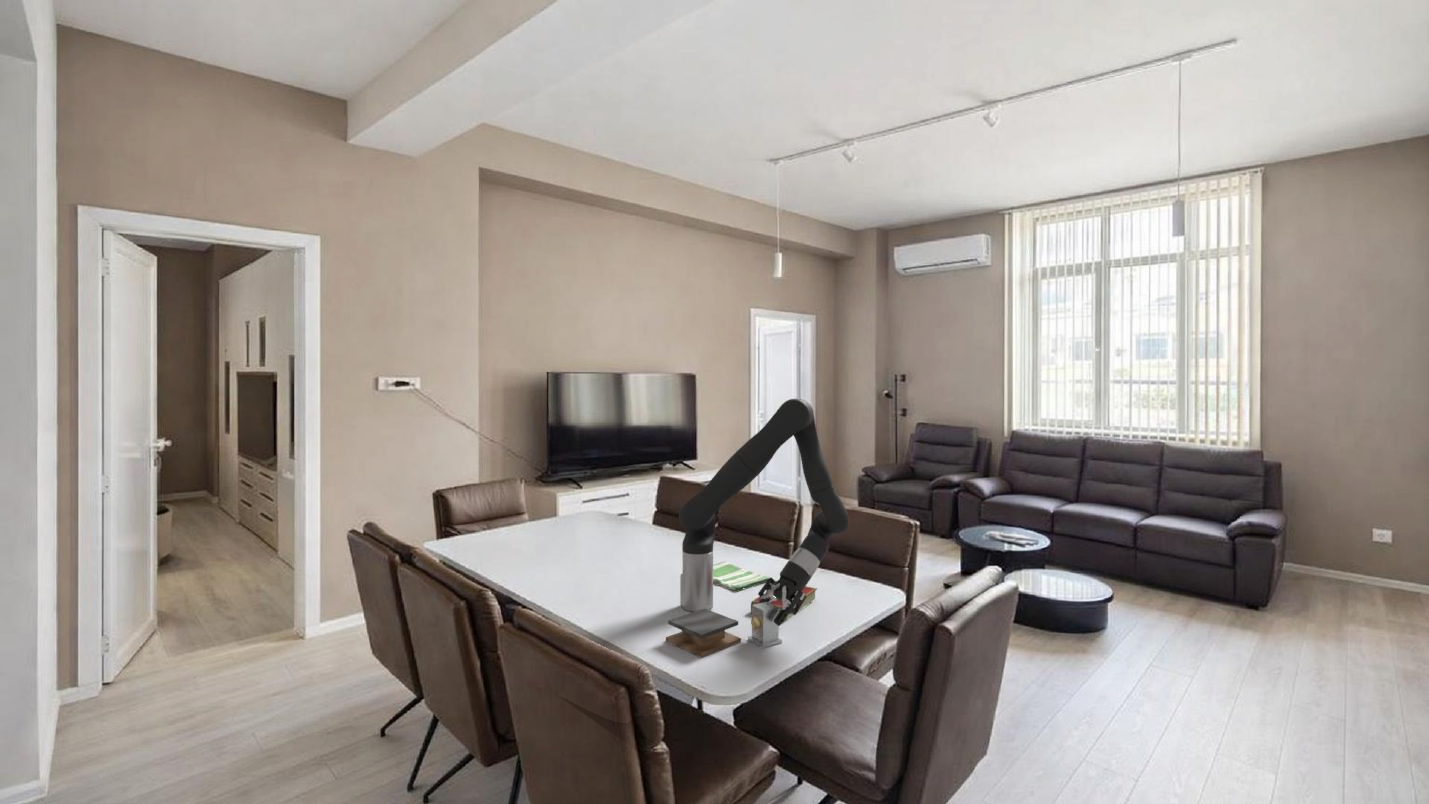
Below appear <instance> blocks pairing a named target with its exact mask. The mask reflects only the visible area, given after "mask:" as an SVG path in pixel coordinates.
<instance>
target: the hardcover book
mask: <svg viewBox="0 0 1429 804" xmlns="http://www.w3.org/2000/svg"><path fill="white" fill-rule="evenodd" d="M817 590H818V587H817V588H816V587H812V586H807V585H806V586H805V588H804V589H803V590H802V592H803V593H804V594H805V595H806V599H805V600H804V602H803V604H802V605H801V607H800V609H799V610H800V611H801V610H803V609H804V608H805V607H807V606H808V605H809V604H808V603H810V602H811V601H812V602H813V600H814V599H815V600H816V591H817ZM772 594H773V595H774V592H773V593H772ZM768 598H770V597H767V599H768ZM760 600H761V597H760V596H758V597H757V598H754V599H753V600H752V601H751V602H750V611H751V614H752V605H755V604H758V603H759V601H760ZM815 600H814V601H815ZM812 602H811V603H812ZM770 603H771V604H773V605H775V606H777V607H779V611H780V610H781V609H782V607H783V602H782V601H779V600H776V601H772V602H770ZM811 603H810V604H811ZM807 604H808V605H807ZM806 605H807V606H806ZM804 606H805V607H804ZM795 607H796V604H795V606H794V608H795ZM803 607H804V608H803ZM802 608H803V609H802ZM782 610H783V609H782ZM799 610H798V611H799ZM800 611H799V612H800ZM793 616H795V615H794V614H790V615H788V616H787V617H786V619H785V620H784V621H787V620H789V619H790V618H792V617H793Z"/></svg>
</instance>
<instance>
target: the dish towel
mask: <svg viewBox="0 0 1429 804" xmlns="http://www.w3.org/2000/svg"><path fill="white" fill-rule="evenodd" d="M769 578H772V577H771V576H766V575H763V574H759V573H755V572H752V571H750V570H747V569H743V568H742V567H740V566H735V565H734V564H731V563H730V562H727V561H726V560H725V561H721V562H718V563H715V564H714V563H713V585H717V586H719V585H720V587H723V588H725V589H727V590H728V589H729V590H731V591H736V592H740V591H744V590H743V588H747V589H751V588H753V587H755V586H754V585H756V586H759V585H762V584H766V582H767V581H768V580H769ZM761 583H762V584H761ZM758 584H759V585H758ZM752 586H753V587H752Z"/></svg>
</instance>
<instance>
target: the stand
mask: <svg viewBox="0 0 1429 804" xmlns="http://www.w3.org/2000/svg"><path fill="white" fill-rule="evenodd" d="M667 621H668V622H667V623H668V625H669V626H671V627H674V628H676V629H678V630H681V631H680V632H677V633H674V634H672V635H668V636H665V641H666V642H667V641H668V642H667V643H669V642H670V644H671V643H672V645H673V644H675V645H677V646H676V647H677V648H680V647H682V648H683V650H684V649H685V651H686V650H687V651H686V652H688V651H689V652H688V653H690V652H692V653H691V654H693V653H694V654H693V655H695V656H697V655H698V656H697V657H699V656H700V657H699V658H704V657H707V656H710V655H712V654H714V653H716V652H720V651H722V650H724V649H727V648H729V647H732V646H735V645H736V644H739V643H741V642H742V638H741V637H739V636H737V635H734V634H732V633H729V632H727V631H726V630H729V629H732V628H734V627H737V626H738V625H739V621H738V620H736V619H733V618H732V617H728V616H726V615H722V614H720V613H718V612H715V611H713V610H711V609H710V610H708V609H705V608H704V609H701V610H698V611H695V612H692V611H691V612H690V613H686V614H684V615H680V616H678V617H674V618H671V619H669V620H667ZM675 645H674V646H675ZM682 648H681V649H682ZM711 653H712V654H711ZM706 655H707V656H706Z"/></svg>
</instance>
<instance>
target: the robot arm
mask: <svg viewBox="0 0 1429 804" xmlns="http://www.w3.org/2000/svg"><path fill="white" fill-rule="evenodd" d="M814 413H815V412H814V409H813V407H812V405H811V403H809V402H808V401H807V400H805V399H801V398H790V399H788V400H786V401H785V402H783V403H782V404H780V406H779V407H778V409H777V410H776V411H775V413H774V414H773V415H772V417H770V418H769V420H768V421H767V422H766V424H765V425H764V426H763V427H762V428H761V429H760V430H759V431H758V432H757V433H755V434H754V435H753V436H752V437H751V438H750V439H749V440H747V441H746V442H745V443H744V444H743V445H742V446H741V447H740V448H739V449H737V450H736V452H735V453H733V455H731V456H730V457H729V459H727V461H726V462H725V463H724V464H723V465H722V466H721V467H720V468H719V470H718V471H717V472H716V474H715V475H714V476H713V477H712V479H710V480H709V482H708V483H707V484H706V485H705V486H704V487H703V488H702V489H700V490H699V492H697V493H696V494H695V495H694V496H692V497H691V498H690V499H689V500H687V501H686V502H684V503H683V504H682V506H681V508H680V510H679V512H678V513H679V515H678V518H679V519H678V520H679V522H680V525H681V526H682V527H683V528H684V529H685V534H684V537H683V540H682V545H681V546H682V573H680V578H679V579H680V581H679V583H680V588H679V589H680V597H679V599H680V603H679V604H680V606H682V609H683V610H685V611H688V612H691V613H692V612H695V611H698V610H701V609H704V608H705V609H708V610H710V611H711V610H712V609H713V608H714V584H713V565H714V542H715V539H716V513H717V511H718V510H719V509H720V508H721V507H722V505H724V504H725V503H726V502H727V501H728V500H730V499H731V498H732V497H734V496H735V495H737V494H739V492H741V491H742V490H743V489H745V488H746V487H747V486H748V485H749V484H751V482H753V480H755V478H757V477H758V476H759V474H761V473H762V471H764V469H765V468H766V466H768V464H769V463H770V461H771V460H772V459H773V457H774V456H775V454H776V452H777V451H778V450H779V449H780V448H781V446H783V445H784V444H785V443H787V441H789V440H790V438H792V437H794V440H795V442H796V444H797V446H798V451H799V454H800V455H799V456H800V461H801V465H802V471H803V476H804V480H805V482H806V485H807V489H808V491H809V495H810V497H811V499H812V501H813V502H814V503H816V504H818V506H819V507H820V509H821V511H820V512H818V514H816V516H815V517H814V519H813V521H812V523H811V525H810V528H809V530H808V532H807V535H806V537H805V538H804V539H803V541H802V542H801V544H800V545H799V547H798V548H797V549H796V550H795V551H794V552H793V554H792V555H791V556H790V557H789V559H788V561H787V562H786V564H785V565H784V566H783V568H782V570H781V571H780V573H779V579H778V580H775V579H774V578H773V577H771V578H769V580H768V581H767V582H765V583H764V584H763V586H762V588H761V589H760V590H759V592H758V593H757V595H758V597H761V600H760V601H759V603H763V602H769V603H770V602H772V601H776V600H779V601H782V602H783V607H782V609H783V610H782V609H781V610H780V611H779V613H778V614H777V616H776V617H775V619H774V623H775V624H776V625H778V626H779V627H780V626H781V625H783V624H784V622H785V621H786V620H785V619H786V617H787V616H788V615H790V614H794V615H793V616H796V615H797V613H799V612H798V610H799V609H800V607H801V605H802V604H803V602H804V600H805V599H806V595H805V594H804V593H803V592H802V590H803V589H804V588H805V586H807V585H808V583H809V582H810V580H811V579H812V577H813V576H814V575H815V573H816V571H817V570H818V568H819V565H820V564H821V562H822V560H823V559H824V558H825V556H827V555H826V554H827V553H828V551H829V549H830V543H829V542H830V539H831V537H832V536H833V535H838V534H843V533H845V532H846V531H847V530H848V528H849V526H850V516H849V514H848V511H847V508H846V507H845V505H844V503H843V501H842V499H841V498H840V496H839V495H838V493H837V491H836V489H835V486H834V482H833V480H832V477H831V474H830V470H829V468H828V465H827V463H826V460H825V457H824V453H823V451H822V448H821V445H820V444H821V443H820V439H819V437H818V431H817V426H816V421H815V420H816V419H815V415H814ZM773 592H774V595H773V594H772V593H773ZM767 597H770V598H768V599H767ZM759 603H758V604H759ZM795 604H796V607H795V608H794V606H795Z"/></svg>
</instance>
